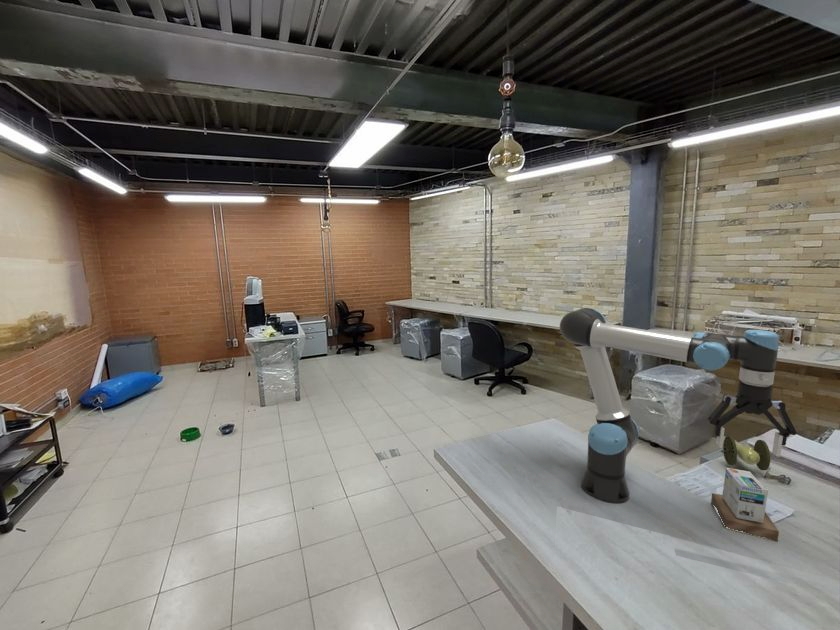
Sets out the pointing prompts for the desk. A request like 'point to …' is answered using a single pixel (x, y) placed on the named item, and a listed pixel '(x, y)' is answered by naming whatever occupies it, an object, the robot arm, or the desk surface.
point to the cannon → (746, 453)
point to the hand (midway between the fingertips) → (747, 450)
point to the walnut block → (744, 521)
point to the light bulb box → (744, 495)
